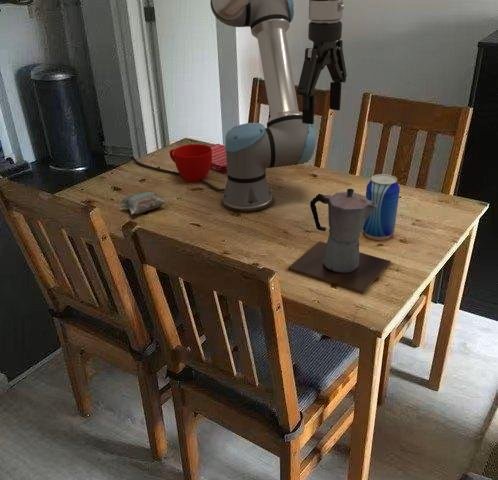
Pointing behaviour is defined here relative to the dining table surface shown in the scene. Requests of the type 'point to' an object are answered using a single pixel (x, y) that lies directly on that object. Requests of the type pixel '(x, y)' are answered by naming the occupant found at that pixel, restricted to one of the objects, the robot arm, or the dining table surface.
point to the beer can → (382, 206)
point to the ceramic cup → (192, 161)
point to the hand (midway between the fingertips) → (321, 116)
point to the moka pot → (343, 228)
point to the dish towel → (219, 158)
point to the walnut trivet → (351, 280)
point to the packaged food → (142, 202)
